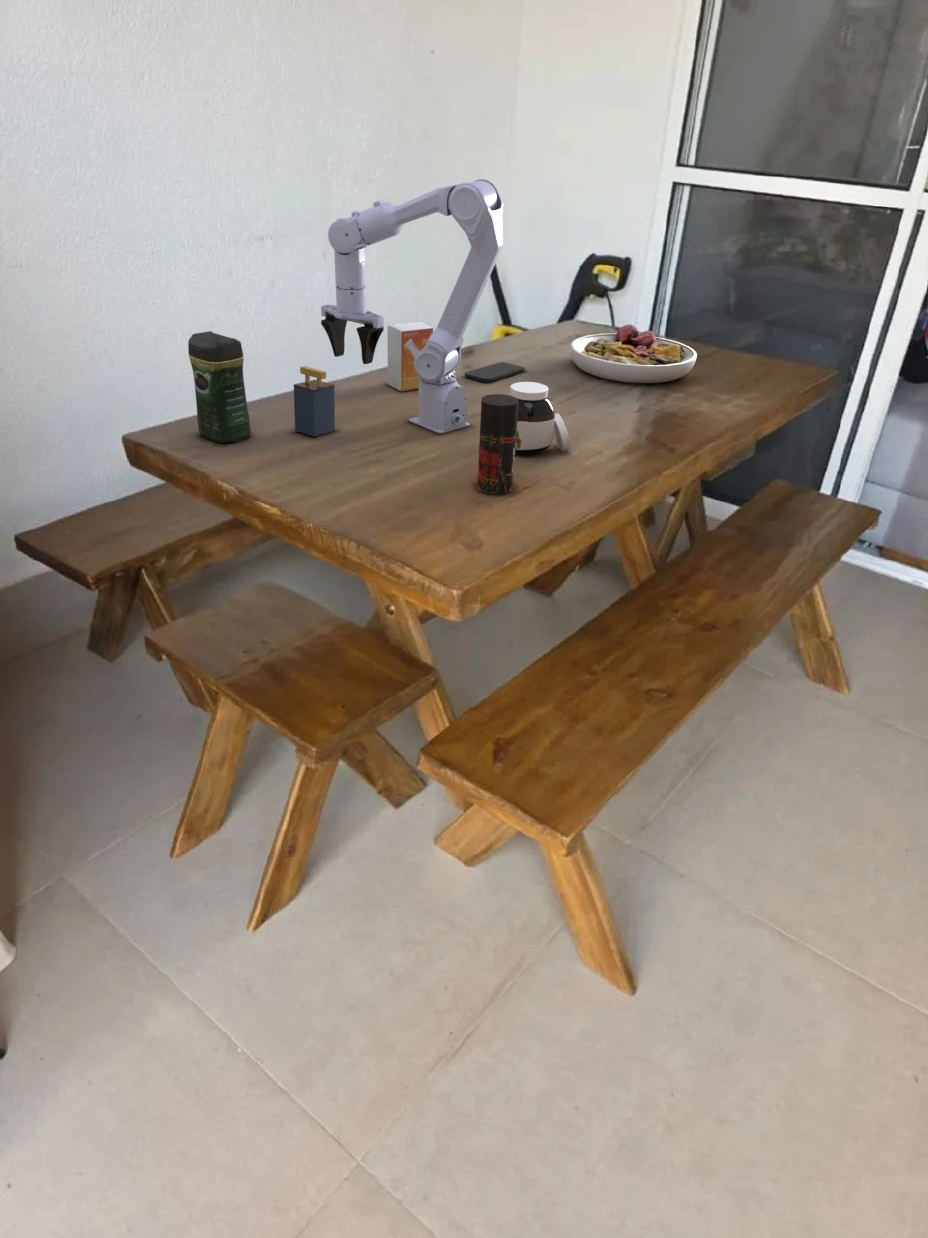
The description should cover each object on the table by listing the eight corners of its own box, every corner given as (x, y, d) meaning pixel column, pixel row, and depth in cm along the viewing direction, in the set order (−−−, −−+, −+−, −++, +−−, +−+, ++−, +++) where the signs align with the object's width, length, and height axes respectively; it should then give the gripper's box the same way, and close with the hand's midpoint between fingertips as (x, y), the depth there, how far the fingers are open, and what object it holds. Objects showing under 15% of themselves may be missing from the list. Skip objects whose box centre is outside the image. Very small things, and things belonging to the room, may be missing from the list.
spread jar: (491, 444, 160) (495, 383, 154) (536, 433, 166) (541, 374, 160) (533, 465, 152) (539, 400, 146) (579, 452, 158) (586, 390, 152)
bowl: (705, 390, 195) (712, 355, 191) (575, 384, 195) (578, 349, 191) (679, 355, 221) (684, 324, 217) (563, 350, 221) (566, 319, 217)
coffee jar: (258, 437, 159) (249, 335, 149) (223, 447, 154) (211, 343, 144) (227, 424, 165) (216, 325, 155) (192, 434, 159) (178, 332, 150)
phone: (526, 367, 203) (487, 379, 193) (526, 371, 203) (487, 383, 193) (501, 361, 207) (462, 372, 197) (501, 364, 207) (462, 376, 197)
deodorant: (475, 480, 145) (479, 393, 138) (510, 480, 146) (516, 394, 138) (479, 494, 140) (483, 405, 133) (514, 494, 141) (521, 405, 133)
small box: (401, 392, 186) (401, 330, 179) (387, 384, 190) (386, 324, 183) (432, 387, 190) (434, 327, 183) (418, 379, 194) (418, 320, 187)
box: (313, 363, 160) (292, 368, 156) (335, 369, 158) (313, 374, 154) (315, 424, 166) (294, 430, 162) (335, 430, 163) (315, 437, 159)
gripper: (308, 284, 162) (312, 356, 170) (365, 295, 155) (367, 370, 163) (334, 279, 167) (337, 349, 175) (390, 290, 160) (391, 363, 167)
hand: (353, 359), depth 169 cm, fingers open, 7 cm apart
